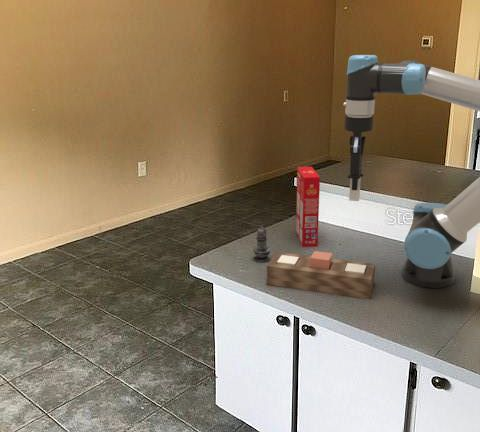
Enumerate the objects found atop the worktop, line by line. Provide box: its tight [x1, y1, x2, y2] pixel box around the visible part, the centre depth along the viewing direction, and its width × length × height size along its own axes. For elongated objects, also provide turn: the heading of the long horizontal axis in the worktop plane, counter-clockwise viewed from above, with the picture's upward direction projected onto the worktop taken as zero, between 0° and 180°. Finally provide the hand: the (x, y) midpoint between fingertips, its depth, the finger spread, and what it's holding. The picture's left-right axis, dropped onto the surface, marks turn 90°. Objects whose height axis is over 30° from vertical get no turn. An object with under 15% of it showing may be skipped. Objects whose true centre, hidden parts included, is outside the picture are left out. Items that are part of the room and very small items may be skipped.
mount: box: [266, 251, 376, 300], centre depth 159 cm, size 30×11×6 cm, turn 71°
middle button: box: [310, 250, 333, 270], centre depth 157 cm, size 5×5×4 cm
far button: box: [277, 255, 299, 266], centre depth 161 cm, size 5×5×4 cm
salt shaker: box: [252, 224, 271, 263], centre depth 175 cm, size 6×6×12 cm
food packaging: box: [295, 166, 321, 248], centre depth 190 cm, size 15×5×25 cm, turn 3°
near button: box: [345, 263, 366, 275], centre depth 155 cm, size 5×5×4 cm
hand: (354, 199), depth 150 cm, fingers closed
